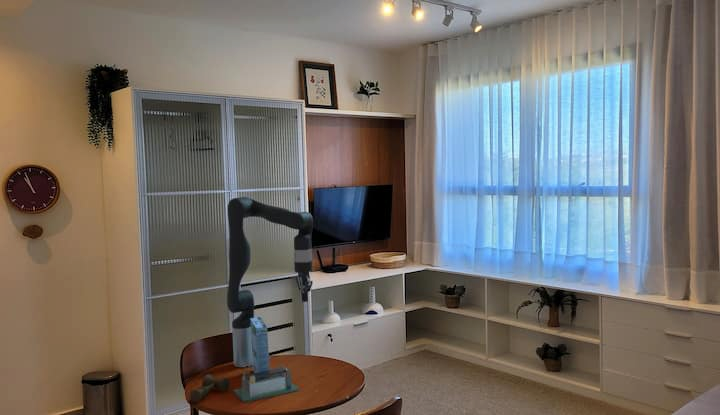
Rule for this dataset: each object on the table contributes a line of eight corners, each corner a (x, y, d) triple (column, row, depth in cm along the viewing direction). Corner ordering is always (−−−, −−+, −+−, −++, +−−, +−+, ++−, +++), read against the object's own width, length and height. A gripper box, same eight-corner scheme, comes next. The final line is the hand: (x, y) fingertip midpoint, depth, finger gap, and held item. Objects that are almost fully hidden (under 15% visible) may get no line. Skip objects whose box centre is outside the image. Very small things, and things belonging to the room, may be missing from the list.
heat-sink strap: (246, 377, 217) (246, 374, 217) (284, 368, 225) (284, 366, 225) (249, 380, 213) (249, 377, 213) (288, 371, 221) (288, 369, 221)
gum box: (270, 383, 228) (267, 326, 227) (257, 384, 227) (255, 328, 226) (264, 368, 247) (261, 316, 246) (252, 370, 245) (249, 318, 244)
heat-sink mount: (233, 392, 219) (232, 371, 219) (286, 380, 230) (285, 360, 230) (243, 402, 208) (242, 380, 208) (299, 390, 218) (298, 369, 218)
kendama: (184, 403, 211) (215, 383, 230) (205, 406, 208) (235, 386, 227) (183, 387, 211) (214, 369, 230) (205, 390, 208) (235, 371, 226)
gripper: (288, 259, 238) (290, 300, 239) (300, 262, 227) (302, 305, 227) (305, 257, 242) (306, 297, 242) (317, 260, 230) (319, 302, 231)
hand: (304, 301), depth 235 cm, fingers closed
